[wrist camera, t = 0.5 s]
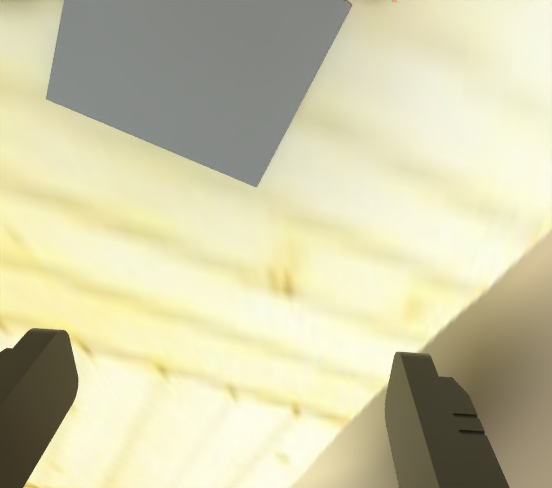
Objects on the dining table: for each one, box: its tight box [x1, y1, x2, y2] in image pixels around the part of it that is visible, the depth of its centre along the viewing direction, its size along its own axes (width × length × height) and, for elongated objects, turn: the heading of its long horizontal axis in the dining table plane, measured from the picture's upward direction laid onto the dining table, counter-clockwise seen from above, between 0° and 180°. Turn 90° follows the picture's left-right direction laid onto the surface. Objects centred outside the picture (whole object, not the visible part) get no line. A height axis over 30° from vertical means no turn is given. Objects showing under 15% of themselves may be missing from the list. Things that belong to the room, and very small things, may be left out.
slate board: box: [46, 0, 352, 187], centre depth 33 cm, size 18×16×1 cm
